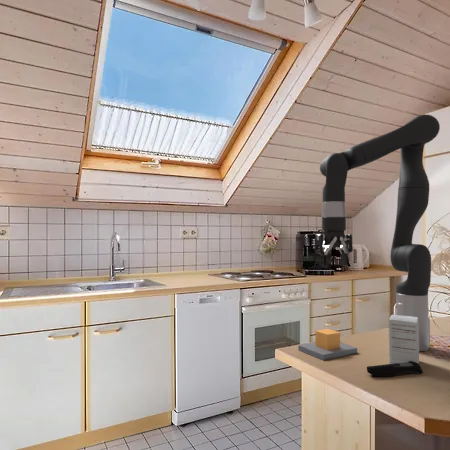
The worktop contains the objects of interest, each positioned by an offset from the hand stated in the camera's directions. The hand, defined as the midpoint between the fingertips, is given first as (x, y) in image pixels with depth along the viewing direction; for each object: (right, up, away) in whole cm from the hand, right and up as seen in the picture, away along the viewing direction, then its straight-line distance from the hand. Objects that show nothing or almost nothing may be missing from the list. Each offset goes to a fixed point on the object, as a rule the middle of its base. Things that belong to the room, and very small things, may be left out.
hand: (334, 266), depth 123 cm
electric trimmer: (+9, -26, -24) cm, 36 cm away
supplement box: (+16, -26, -15) cm, 34 cm away
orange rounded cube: (-3, -25, -5) cm, 25 cm away
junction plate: (-3, -26, -5) cm, 27 cm away
